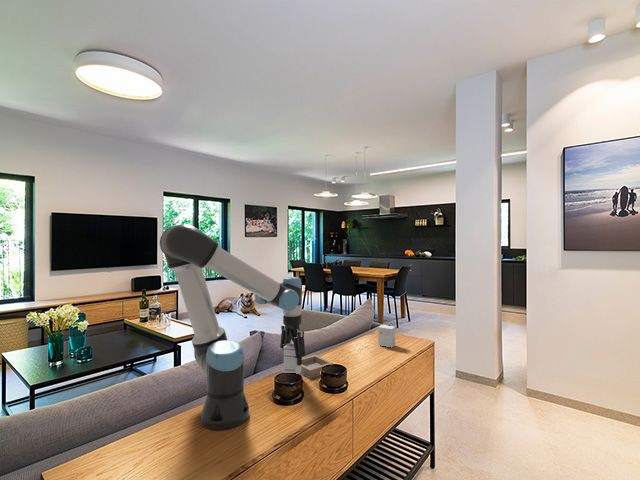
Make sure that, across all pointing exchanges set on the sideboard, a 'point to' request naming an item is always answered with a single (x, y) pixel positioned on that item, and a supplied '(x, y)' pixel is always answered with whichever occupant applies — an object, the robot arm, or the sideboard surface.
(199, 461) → the sideboard surface
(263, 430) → the sideboard surface
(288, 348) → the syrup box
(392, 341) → the small box
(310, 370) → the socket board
